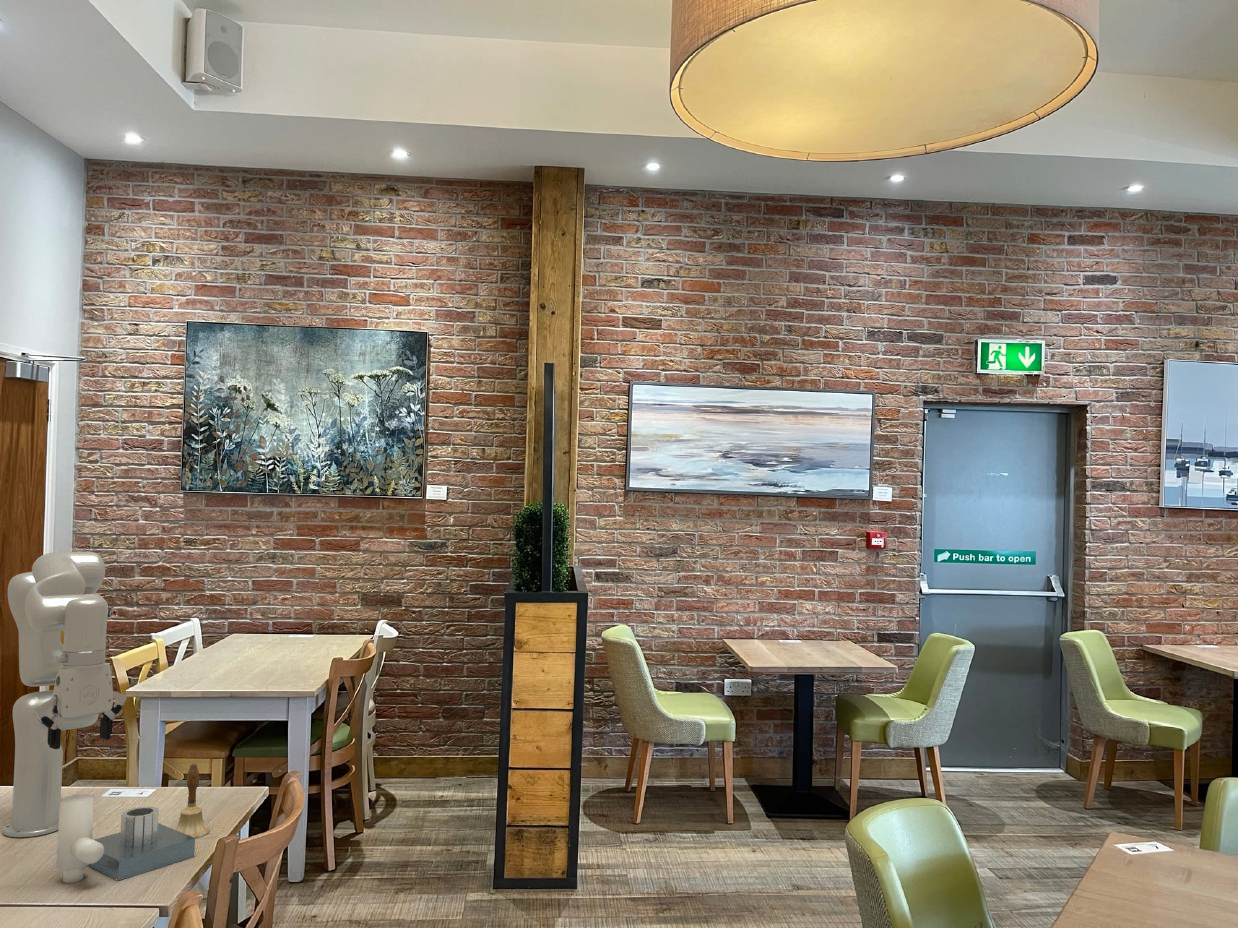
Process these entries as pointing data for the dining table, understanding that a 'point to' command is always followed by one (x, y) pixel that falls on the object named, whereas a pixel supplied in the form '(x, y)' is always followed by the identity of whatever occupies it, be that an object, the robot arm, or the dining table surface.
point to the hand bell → (192, 809)
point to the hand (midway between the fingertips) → (80, 743)
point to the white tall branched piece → (76, 837)
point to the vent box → (142, 845)
